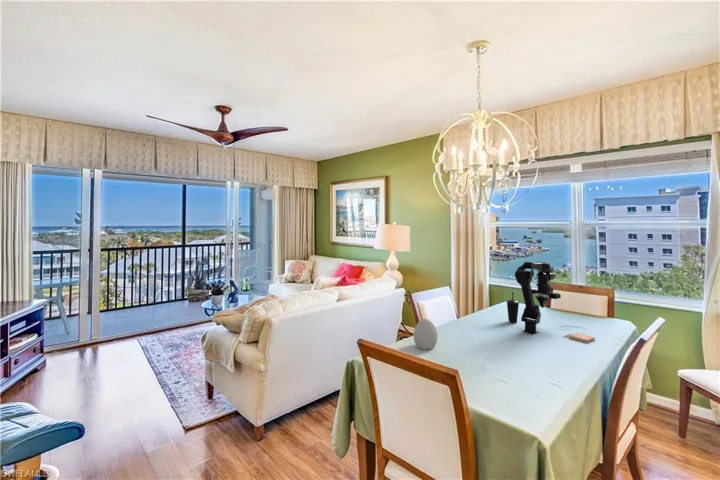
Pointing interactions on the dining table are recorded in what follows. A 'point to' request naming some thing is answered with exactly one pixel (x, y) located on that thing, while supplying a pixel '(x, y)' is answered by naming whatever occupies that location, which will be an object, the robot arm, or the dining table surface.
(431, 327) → the decorative egg
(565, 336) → the mat
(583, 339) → the tile
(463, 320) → the dining table surface
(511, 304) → the drinking cup
